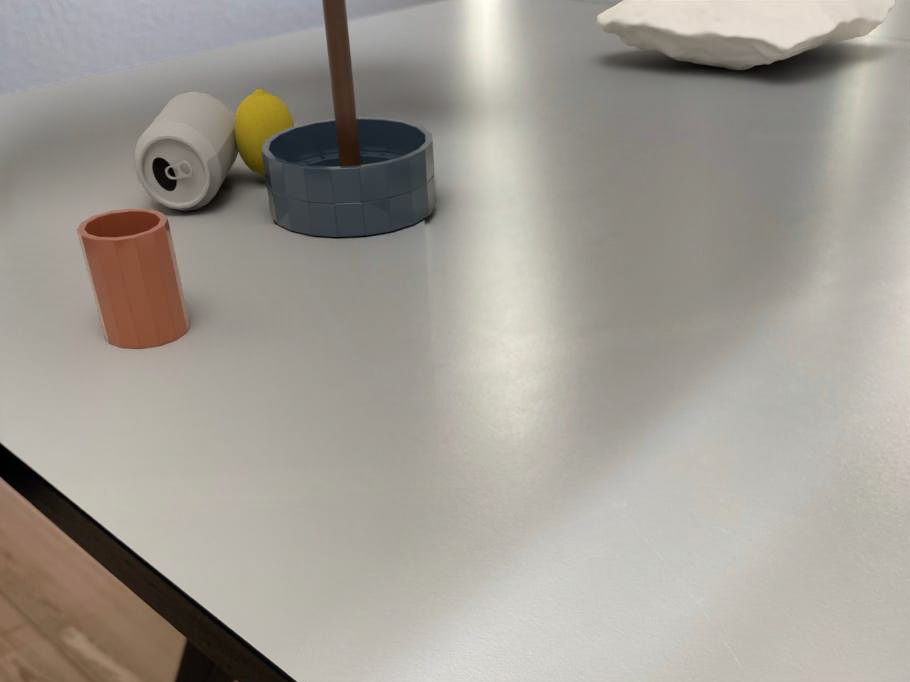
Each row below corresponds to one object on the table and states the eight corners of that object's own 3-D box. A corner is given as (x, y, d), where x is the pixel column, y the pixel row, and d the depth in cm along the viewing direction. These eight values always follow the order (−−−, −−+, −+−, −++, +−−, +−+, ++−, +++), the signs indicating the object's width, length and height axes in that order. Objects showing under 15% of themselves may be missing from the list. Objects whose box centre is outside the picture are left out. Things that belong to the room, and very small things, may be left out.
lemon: (236, 177, 106) (220, 86, 101) (292, 168, 108) (280, 77, 102) (251, 194, 102) (236, 100, 97) (309, 184, 104) (298, 91, 99)
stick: (344, 210, 96) (314, -61, 83) (344, 203, 98) (316, -65, 85) (364, 209, 96) (338, -62, 83) (365, 202, 98) (339, -66, 85)
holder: (99, 357, 77) (68, 242, 72) (115, 321, 82) (87, 210, 76) (184, 353, 77) (159, 237, 72) (195, 317, 82) (173, 206, 77)
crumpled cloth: (931, 70, 122) (946, -27, 118) (612, 81, 121) (615, -16, 117) (859, 56, 142) (870, -28, 138) (585, 65, 142) (587, -18, 137)
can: (147, 102, 103) (112, 142, 94) (221, 78, 102) (193, 115, 93) (183, 183, 108) (154, 228, 99) (255, 160, 106) (231, 203, 97)
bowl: (266, 248, 92) (254, 172, 88) (279, 190, 103) (269, 121, 99) (438, 239, 92) (434, 163, 88) (434, 183, 103) (430, 113, 99)
